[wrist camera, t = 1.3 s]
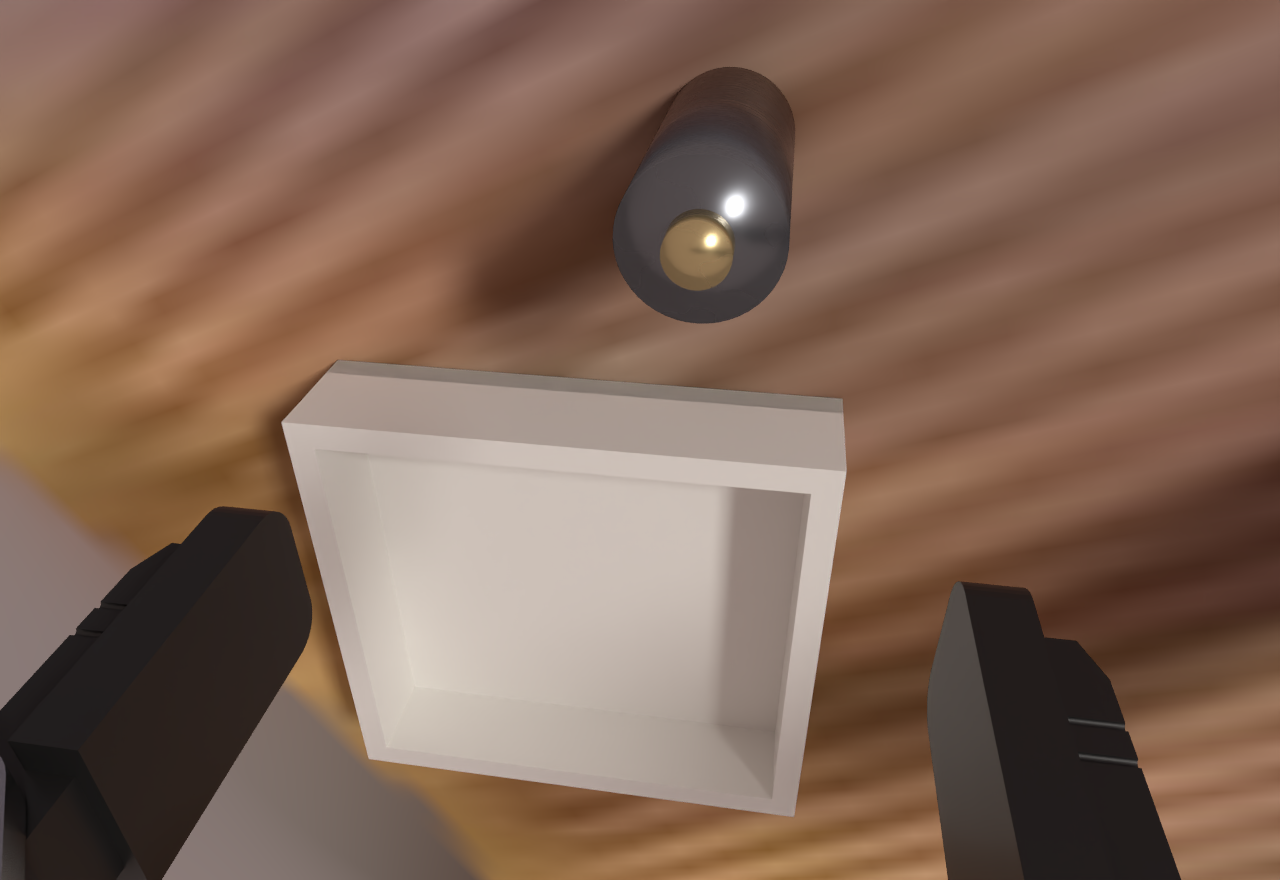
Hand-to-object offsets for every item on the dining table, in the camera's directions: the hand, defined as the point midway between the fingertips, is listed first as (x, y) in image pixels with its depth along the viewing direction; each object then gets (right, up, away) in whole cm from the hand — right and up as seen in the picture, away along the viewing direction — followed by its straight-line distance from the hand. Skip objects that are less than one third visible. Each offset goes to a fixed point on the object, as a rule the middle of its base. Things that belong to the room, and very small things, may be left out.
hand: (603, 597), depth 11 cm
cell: (+3, +11, +17) cm, 21 cm away
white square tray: (-2, -3, +28) cm, 28 cm away
